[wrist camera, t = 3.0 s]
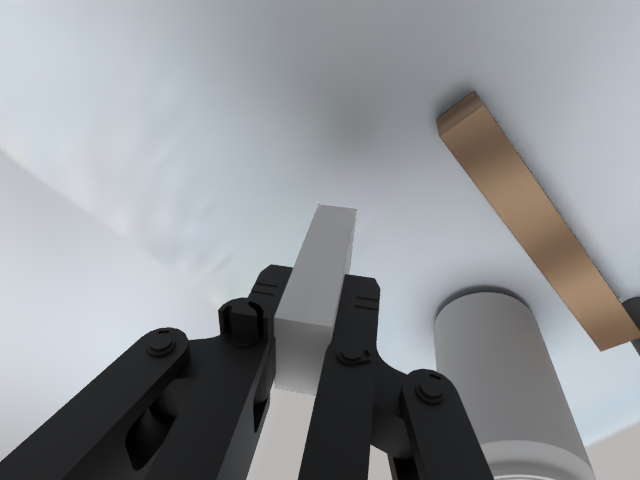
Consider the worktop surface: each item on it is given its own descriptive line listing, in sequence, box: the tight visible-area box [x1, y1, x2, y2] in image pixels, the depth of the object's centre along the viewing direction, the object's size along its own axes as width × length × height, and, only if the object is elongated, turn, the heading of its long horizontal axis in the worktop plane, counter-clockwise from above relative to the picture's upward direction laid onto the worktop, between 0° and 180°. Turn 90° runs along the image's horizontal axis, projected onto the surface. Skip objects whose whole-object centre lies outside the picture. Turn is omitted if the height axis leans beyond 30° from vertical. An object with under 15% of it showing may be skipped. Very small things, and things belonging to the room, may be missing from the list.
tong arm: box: [436, 91, 640, 351], centre depth 22 cm, size 16×2×3 cm, turn 42°
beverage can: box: [434, 292, 596, 480], centre depth 23 cm, size 6×6×12 cm
